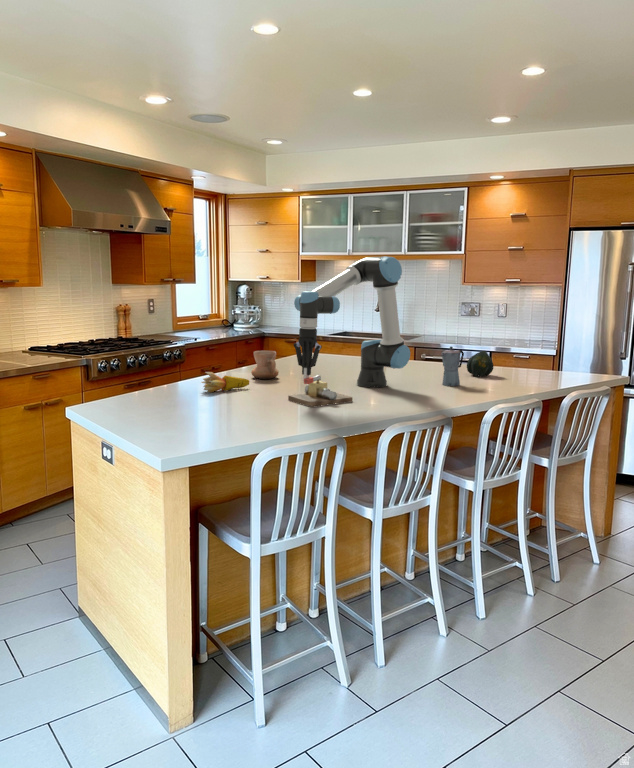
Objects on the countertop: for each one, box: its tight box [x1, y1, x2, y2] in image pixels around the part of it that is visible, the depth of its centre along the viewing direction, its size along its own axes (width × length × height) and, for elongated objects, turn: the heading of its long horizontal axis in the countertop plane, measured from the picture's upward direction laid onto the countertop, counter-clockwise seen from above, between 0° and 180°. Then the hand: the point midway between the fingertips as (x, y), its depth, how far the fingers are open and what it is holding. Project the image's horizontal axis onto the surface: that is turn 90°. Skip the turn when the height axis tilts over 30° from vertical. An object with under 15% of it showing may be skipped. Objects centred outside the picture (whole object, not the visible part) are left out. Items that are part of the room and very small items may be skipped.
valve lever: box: [303, 374, 322, 385], centre depth 270 cm, size 12×3×2 cm, turn 152°
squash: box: [466, 350, 495, 377], centre depth 350 cm, size 14×15×15 cm
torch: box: [200, 371, 250, 393], centre depth 295 cm, size 8×8×25 cm
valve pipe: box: [304, 380, 337, 400], centre depth 273 cm, size 6×19×7 cm, turn 36°
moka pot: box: [441, 346, 465, 387], centre depth 318 cm, size 10×15×20 cm, turn 127°
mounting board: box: [287, 392, 353, 408], centre depth 274 cm, size 22×18×2 cm
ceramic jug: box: [251, 350, 279, 380], centre depth 330 cm, size 18×14×14 cm
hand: (306, 382), depth 268 cm, fingers closed
